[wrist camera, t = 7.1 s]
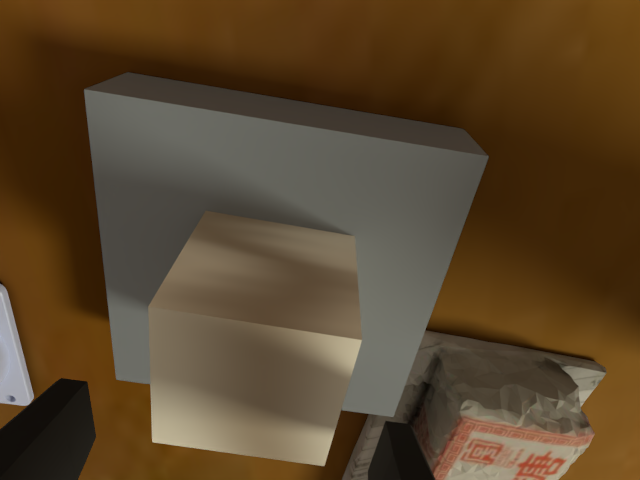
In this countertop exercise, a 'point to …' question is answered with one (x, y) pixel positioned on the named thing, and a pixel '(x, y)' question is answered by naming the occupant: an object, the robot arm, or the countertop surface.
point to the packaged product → (489, 411)
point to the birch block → (255, 339)
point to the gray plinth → (278, 204)
